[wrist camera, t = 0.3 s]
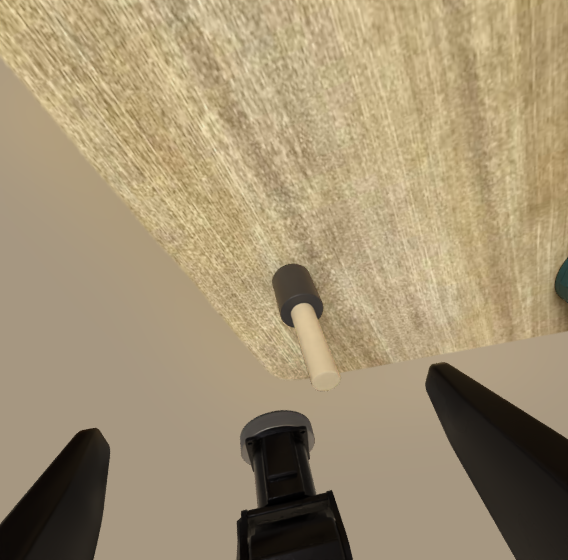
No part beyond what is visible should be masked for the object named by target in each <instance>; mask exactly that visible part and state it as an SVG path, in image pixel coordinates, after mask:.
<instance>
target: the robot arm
mask: <svg viewBox="0 0 568 560" xmlns="http://www.w3.org/2000/svg"><path fill="white" fill-rule="evenodd" d="M425 386H426V390H427V393H428V395H429V397H430V400H431V402H432V404H433V407H434V409H435V411H436V413H437V416H438V418H439V420H440V422H441V424H442V427H443V429H444V431H445V434H446V435H447V438H448V440H449V442H450V444H451V446H452V448H453V450H454V451H455V453H456V455H457V457H458V458H459V460H460V462H461V464H462V465H463V467H464V469H465V471H466V473H467V474H468V476H469V478H470V479H471V481H472V483H473V485H474V486H475V488H476V490H477V492H478V493H479V495H480V497H481V499H482V500H483V502H484V504H485V506H486V508H487V509H488V511H489V513H490V515H491V516H492V518H493V520H494V521H495V523H496V525H497V527H498V529H499V531H500V532H501V534H502V536H503V538H504V539H505V541H506V543H507V545H508V546H509V548H510V550H511V552H512V553H513V555H514V557H515V559H516V560H568V439H566V438H565V437H564V436H562V435H560V434H559V433H557V432H556V431H554V430H553V429H551V428H549V427H548V426H546V425H545V424H543V423H541V422H540V421H538V420H537V419H535V418H533V417H532V416H530V415H529V414H527V413H526V412H524V411H522V410H521V409H519V408H518V407H516V406H515V405H513V404H511V403H510V402H508V401H507V400H505V399H503V398H502V397H500V396H499V395H497V394H495V393H494V392H492V391H491V390H489V389H488V388H486V387H484V386H483V385H481V384H480V383H478V382H476V381H475V380H473V379H472V378H470V377H469V376H467V375H465V374H464V373H462V372H460V371H459V370H458V369H456V368H454V367H453V366H451V365H450V364H448V363H445V362H441V363H436V364H432V365H431V366H430V368H429V371H428V375H427V379H426V383H425ZM245 445H246V449H247V452H248V456H249V459H250V463H251V466H252V469H253V472H254V474H255V484H256V495H257V506H258V508H257V509H252V510H249V511H247V510H243V511H241V518H240V519H239V520H238V521H237V536H238V545H237V560H353V558H352V554H351V550H350V545H349V542H348V538H347V535H346V531H345V528H344V525H343V522H342V519H341V516H340V513H339V510H338V507H337V504H336V501H335V498H334V495H333V492H332V490H330V491H327V492H326V493H322V494H318V495H316V491H315V487H314V482H313V478H312V474H311V469H310V465H309V461H308V460H309V459H310V455H309V443H308V432H307V427H306V426H298V427H294V428H289V429H285V430H280V431H275V432H271V433H266V434H261V435H257V436H252V437H248V438H246V439H245ZM109 459H110V447H109V444H108V443H107V441H106V440H105V438H104V437H103V435H102V433H101V432H100V431H99V429H97V428H92V429H86V430H82V431H79V432H78V433H77V434H76V435H75V436H74V437H73V438H72V440H71V441H70V442H69V443H68V444H67V445H66V447H65V448H64V449H63V450H62V451H61V453H60V454H59V455H58V456H57V457H56V458H55V460H54V461H53V462H52V463H51V464H50V466H49V467H48V468H47V469H46V470H45V472H44V473H43V474H42V475H41V476H40V477H39V479H38V480H37V481H36V482H35V483H34V485H33V486H32V487H31V488H30V489H29V490H28V492H27V493H26V494H25V495H24V497H23V498H22V499H21V500H20V501H19V502H18V503H17V505H16V506H15V507H14V508H13V510H12V511H11V512H10V513H9V514H8V515H7V517H6V518H5V519H4V520H3V521H2V522H1V524H0V560H93V559H94V554H95V550H96V546H97V541H98V537H99V532H100V527H101V522H102V516H103V510H104V501H105V493H106V485H107V475H108V467H109Z"/></svg>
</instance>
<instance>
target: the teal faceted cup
mask: <svg viewBox="0 0 568 560" xmlns="http://www.w3.org/2000/svg"><path fill="white" fill-rule="evenodd" d="M555 289H556V292H557V294H558V295H559V296H560V297H561V298H562V299H564V300H565V301H566V302H567V303H568V258H567V260H566V261H565V262H564V264H563V265H562V267H561V268H560V270H559V272H558V275H557V277H556V281H555Z"/></svg>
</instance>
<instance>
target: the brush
mask: <svg viewBox="0 0 568 560" xmlns="http://www.w3.org/2000/svg"><path fill="white" fill-rule="evenodd" d="M272 284H273V288H274V292H275V296H276V300H277V304H278V308H279V312H280V316H281V319H282V320H283V322H284V323H285V324H286V325H288V326H290V327H294V328H295V330H296V334H297V337H298V340H299V344H300V347H301V350H302V354H303V357H304V360H305V364H306V367H307V370H308V374H309V377H310V380H311V384H312V386H313V388H314V389H316V390H317V391H329V390H331V389H333V388H335V387H336V386H337V385H338V384H339V383H340V380H341V376H340V374H339V371H338V369H337V366H336V364H335V361H334V359H333V356H332V354H331V351H330V349H329V346H328V344H327V341H326V338H325V336H324V333H323V331H322V328H321V326H320V323H319V321H318V319H319V318H320V317H321V315H322V312H323V303H322V301H321V299H320V296H319V294H318V292H317V290H316V287H315V285H314V283H313V281H312V278H311V276H310V274H309V272H308V270H307V269H306V268H305V267H303V266H301V265H298V264H288V265H285V266H283V267H281V268H280V269H279V270H278V271H277V272H276V273H275V275H274V277H273V280H272Z"/></svg>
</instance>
